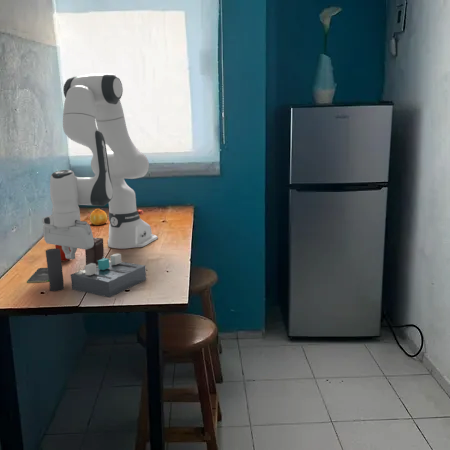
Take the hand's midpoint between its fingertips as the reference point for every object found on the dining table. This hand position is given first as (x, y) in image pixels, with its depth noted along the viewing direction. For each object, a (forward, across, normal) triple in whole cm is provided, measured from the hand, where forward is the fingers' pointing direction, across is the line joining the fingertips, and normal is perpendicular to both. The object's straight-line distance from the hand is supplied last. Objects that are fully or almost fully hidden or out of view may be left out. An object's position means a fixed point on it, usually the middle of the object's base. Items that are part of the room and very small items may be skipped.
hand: (70, 258), depth 183 cm
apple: (+7, +18, -14) cm, 24 cm away
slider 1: (+2, -15, +6) cm, 16 cm away
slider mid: (+2, -15, 0) cm, 15 cm away
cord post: (+7, -4, +11) cm, 13 cm away
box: (+7, -4, -8) cm, 11 cm away
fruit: (+7, +48, -65) cm, 81 cm away
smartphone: (+7, +11, +3) cm, 14 cm away
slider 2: (+1, -15, -6) cm, 16 cm away
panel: (+7, -17, 0) cm, 18 cm away
